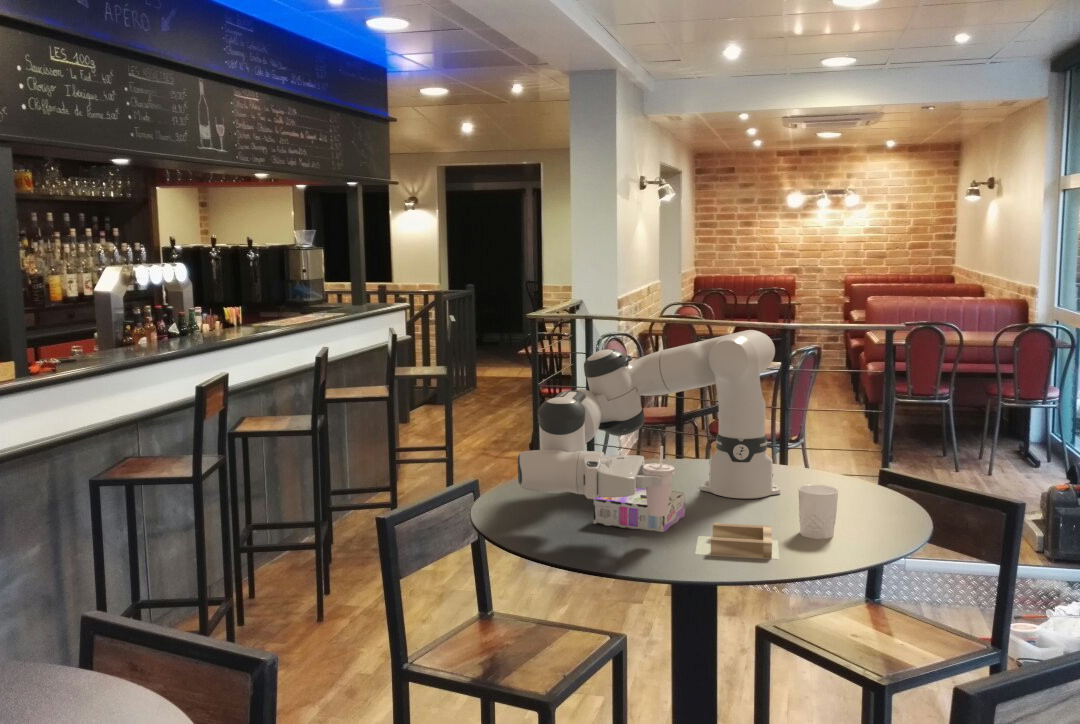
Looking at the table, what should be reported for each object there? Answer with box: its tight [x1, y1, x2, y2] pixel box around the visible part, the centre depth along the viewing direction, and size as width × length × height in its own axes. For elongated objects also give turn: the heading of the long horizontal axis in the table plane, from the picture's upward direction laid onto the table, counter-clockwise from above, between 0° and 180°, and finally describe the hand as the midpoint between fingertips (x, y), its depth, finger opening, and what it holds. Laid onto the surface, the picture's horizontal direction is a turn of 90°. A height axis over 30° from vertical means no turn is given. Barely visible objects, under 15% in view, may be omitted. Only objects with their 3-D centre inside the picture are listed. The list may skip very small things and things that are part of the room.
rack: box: [710, 522, 773, 559], centre depth 199 cm, size 12×12×3 cm
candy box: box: [592, 487, 686, 533], centre depth 219 cm, size 14×6×16 cm
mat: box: [694, 535, 780, 560], centre depth 199 cm, size 12×16×1 cm
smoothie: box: [643, 445, 675, 517], centre depth 200 cm, size 6×6×14 cm
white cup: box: [798, 484, 839, 540], centre depth 207 cm, size 8×8×10 cm
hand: (662, 476), depth 200 cm, fingers closed on smoothie, 6 cm apart
